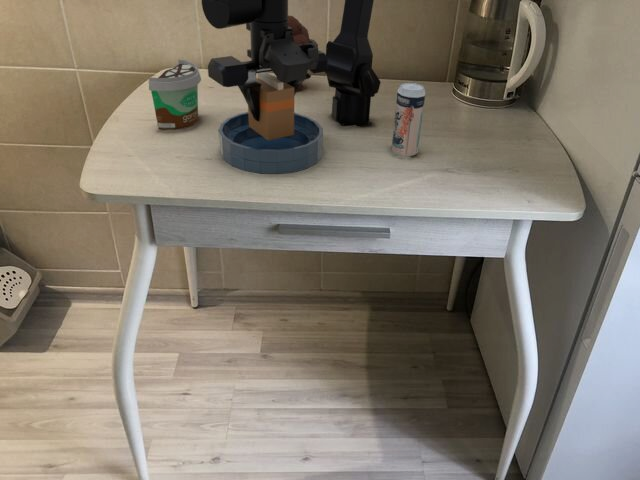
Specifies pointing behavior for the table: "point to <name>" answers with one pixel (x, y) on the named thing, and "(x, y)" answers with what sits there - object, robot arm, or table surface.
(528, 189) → the table surface
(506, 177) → the table surface
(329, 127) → the table surface
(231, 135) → the bowl
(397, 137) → the beer can
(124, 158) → the table surface
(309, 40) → the ice cream bowl
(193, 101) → the food container
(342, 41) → the robot arm
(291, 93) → the carton
